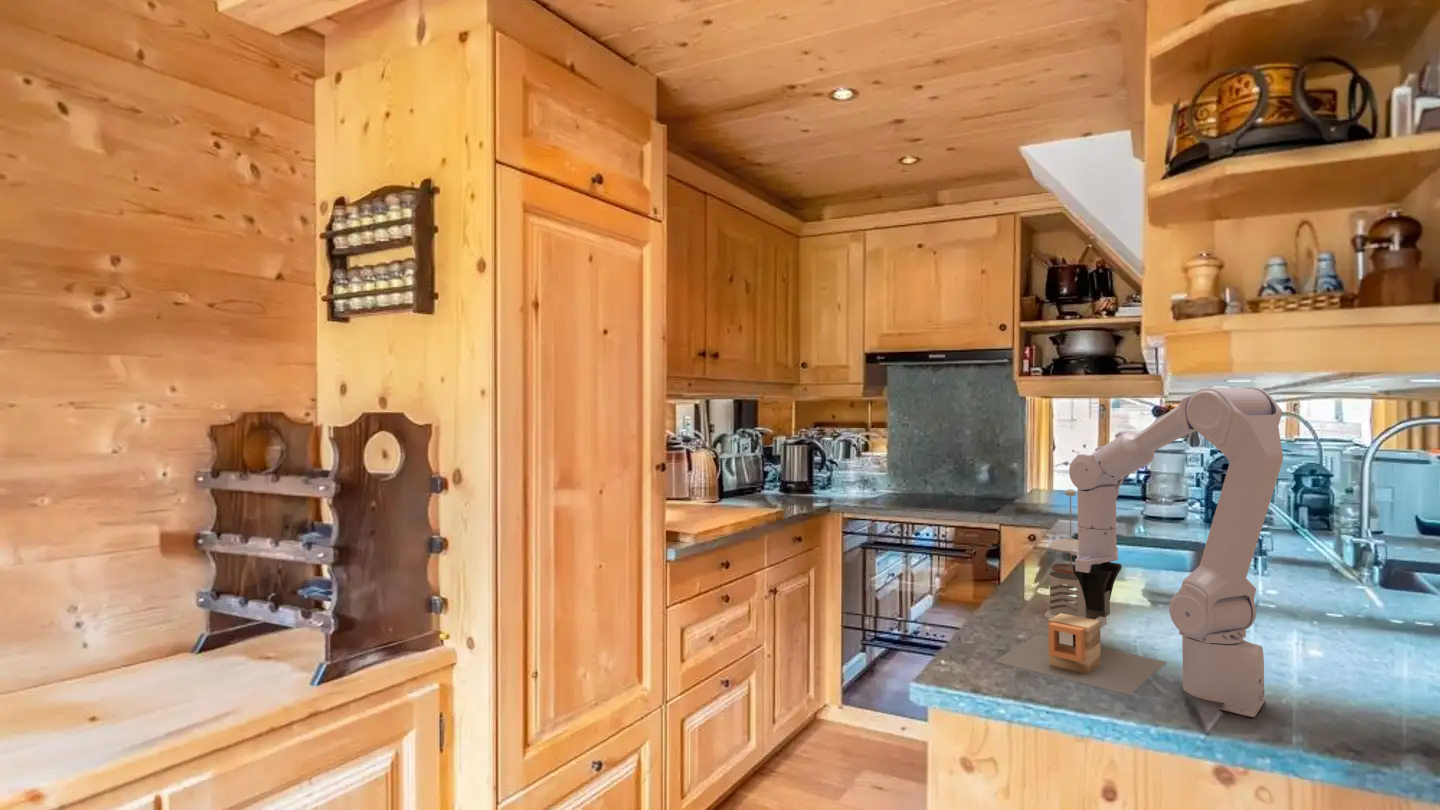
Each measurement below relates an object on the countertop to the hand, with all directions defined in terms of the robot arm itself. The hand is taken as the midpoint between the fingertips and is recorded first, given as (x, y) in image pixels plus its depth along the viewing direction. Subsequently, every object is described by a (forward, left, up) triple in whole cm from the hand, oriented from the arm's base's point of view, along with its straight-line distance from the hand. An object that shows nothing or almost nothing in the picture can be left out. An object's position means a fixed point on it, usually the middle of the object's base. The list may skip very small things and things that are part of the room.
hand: (1097, 608), depth 124 cm
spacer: (0, +14, -5) cm, 15 cm away
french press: (+10, -18, -8) cm, 22 cm away
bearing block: (0, +11, -7) cm, 13 cm away
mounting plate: (0, +9, -8) cm, 12 cm away
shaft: (0, +6, -3) cm, 7 cm away
